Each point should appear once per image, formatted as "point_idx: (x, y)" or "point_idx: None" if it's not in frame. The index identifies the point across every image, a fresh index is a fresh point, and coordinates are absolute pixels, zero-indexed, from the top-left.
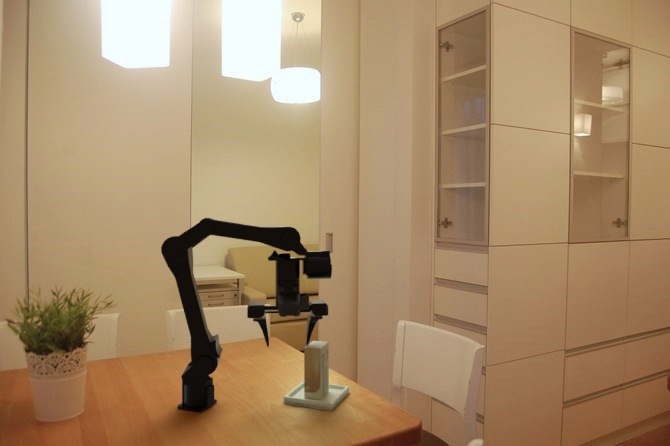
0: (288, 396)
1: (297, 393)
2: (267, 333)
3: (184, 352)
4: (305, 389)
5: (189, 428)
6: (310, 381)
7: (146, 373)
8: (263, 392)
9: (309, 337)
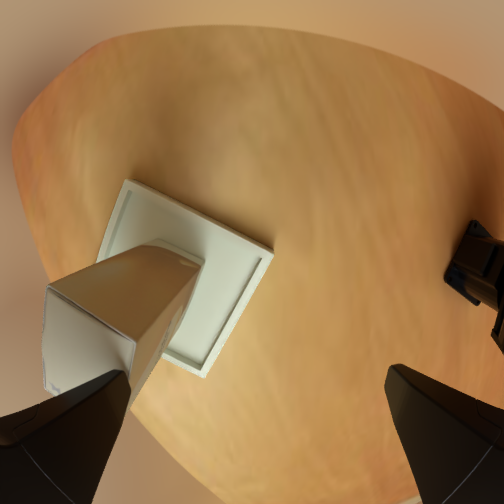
0: (257, 255)
1: (227, 301)
2: (450, 410)
3: None
4: (195, 265)
5: (475, 138)
6: (168, 263)
7: None
8: (328, 341)
9: (80, 388)
